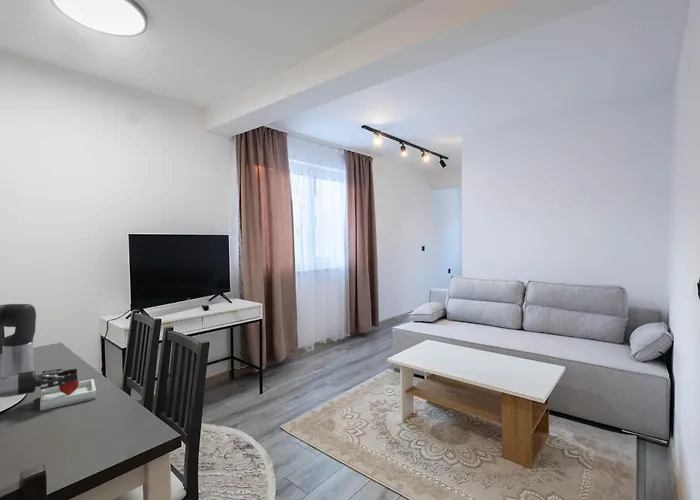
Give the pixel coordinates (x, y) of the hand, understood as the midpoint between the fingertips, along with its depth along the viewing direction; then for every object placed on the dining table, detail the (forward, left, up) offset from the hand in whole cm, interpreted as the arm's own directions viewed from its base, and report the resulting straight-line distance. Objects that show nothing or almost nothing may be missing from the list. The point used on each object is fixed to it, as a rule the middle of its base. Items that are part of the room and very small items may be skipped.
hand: (76, 373), depth 137 cm
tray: (0, -2, -8) cm, 9 cm away
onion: (0, -3, -8) cm, 8 cm away
